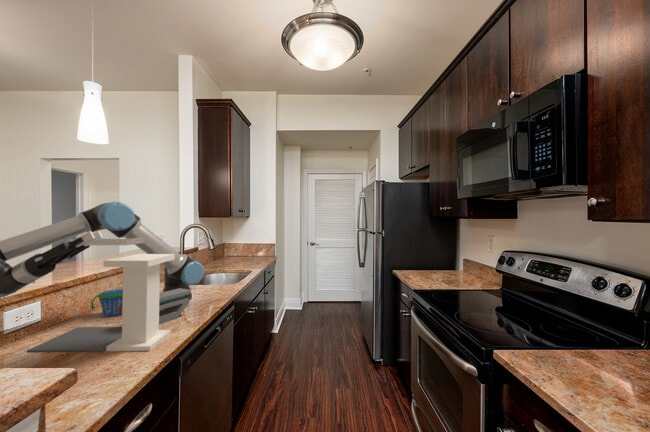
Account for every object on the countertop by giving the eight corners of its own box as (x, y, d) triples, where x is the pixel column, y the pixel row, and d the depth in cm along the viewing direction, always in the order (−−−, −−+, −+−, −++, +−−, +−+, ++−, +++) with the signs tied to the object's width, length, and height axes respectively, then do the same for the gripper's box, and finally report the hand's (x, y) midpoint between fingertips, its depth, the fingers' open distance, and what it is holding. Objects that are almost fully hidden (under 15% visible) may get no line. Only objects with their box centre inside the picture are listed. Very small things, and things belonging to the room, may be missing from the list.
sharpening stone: (134, 332, 109) (134, 304, 109) (122, 329, 113) (122, 301, 113) (191, 313, 131) (191, 290, 131) (179, 311, 135) (180, 288, 135)
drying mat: (26, 352, 93) (26, 350, 93) (77, 328, 113) (77, 327, 113) (103, 351, 94) (103, 349, 94) (140, 328, 114) (140, 326, 114)
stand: (101, 354, 92) (103, 260, 92) (136, 332, 110) (137, 253, 110) (146, 353, 92) (147, 260, 93) (173, 331, 110) (174, 254, 111)
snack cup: (87, 320, 122) (88, 296, 122) (95, 313, 131) (96, 290, 131) (131, 315, 128) (131, 293, 128) (135, 309, 138) (136, 287, 138)
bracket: (67, 245, 98) (67, 239, 98) (89, 243, 108) (89, 237, 108) (127, 245, 99) (127, 239, 99) (144, 242, 109) (144, 237, 109)
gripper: (61, 272, 107) (117, 241, 108) (16, 282, 91) (83, 245, 92) (51, 255, 107) (107, 224, 108) (5, 261, 91) (71, 225, 92)
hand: (96, 234), depth 100 cm, fingers closed on bracket, 3 cm apart
